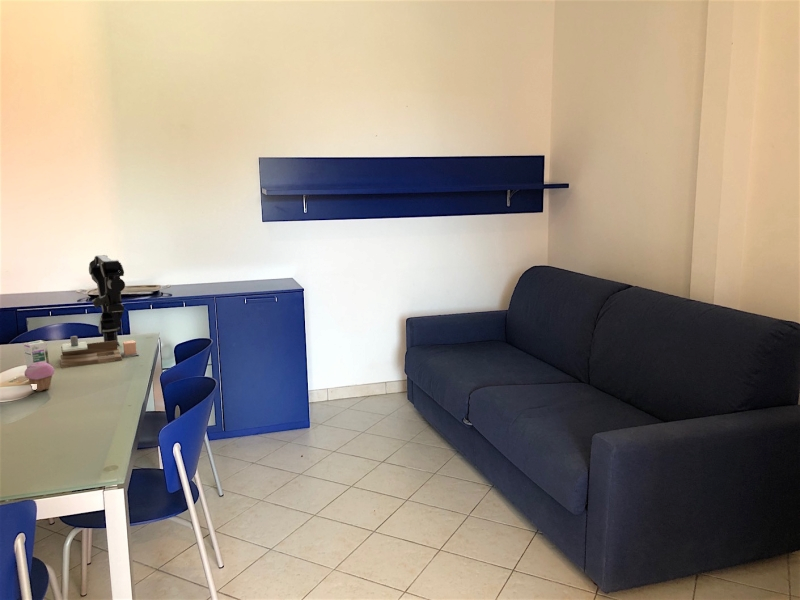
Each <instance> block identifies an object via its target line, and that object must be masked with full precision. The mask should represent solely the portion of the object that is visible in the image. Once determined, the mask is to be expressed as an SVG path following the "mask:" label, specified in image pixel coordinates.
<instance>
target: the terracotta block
mask: <svg viewBox="0 0 800 600" xmlns="http://www.w3.org/2000/svg"><path fill="white" fill-rule="evenodd" d="M122 342H123V343H122V345H123V352H124V354H125V355H131V354H137V353H136V351H137V344H136V343H137V342H136V341H135V339H133V340H126V341H122Z"/></svg>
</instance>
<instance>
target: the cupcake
mask: <svg viewBox="0 0 800 600" xmlns="http://www.w3.org/2000/svg"><path fill="white" fill-rule="evenodd" d="M54 374H55V368H54V367H53V365H51V364H50V363H49V364H48V363H46V362H37V363H33V364H31V365H30V366H29V367H28V368H27V367H26V369H25V371H24V377H25V378H27V379H29V380H28V381H29V384H37V389H36V391H35V392H42V391H44V390H49V389H50V387H51V383H52V378H53V375H54Z"/></svg>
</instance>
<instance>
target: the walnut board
mask: <svg viewBox="0 0 800 600" xmlns="http://www.w3.org/2000/svg"><path fill="white" fill-rule="evenodd" d="M87 348H88V349H84V350H76V351H67V352H62V351H61V355H60V367H61V368H62V369H63V368H68V367H77V366H85V365H94V364H100V363H109V362H108V361H110V362H116V361H115V360H118V361H123V359H122V358H123V355H121V354H122V353H121V351H120V349H119V348H118V346H117V340H115V341H106V342H104V341H99V342H89V343H87ZM61 349H62V345H61ZM113 354H114V355H113ZM106 355H108V356H106Z"/></svg>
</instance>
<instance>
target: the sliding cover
mask: <svg viewBox="0 0 800 600" xmlns="http://www.w3.org/2000/svg"><path fill="white" fill-rule="evenodd" d="M87 344H88V343H87V341H79V338H78V335H72V336H71V335H70V342H69V343H67V342H66V343H61V346H62V348H61V353H62V352H67V351H76V350H84V349H88V348H87Z"/></svg>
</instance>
